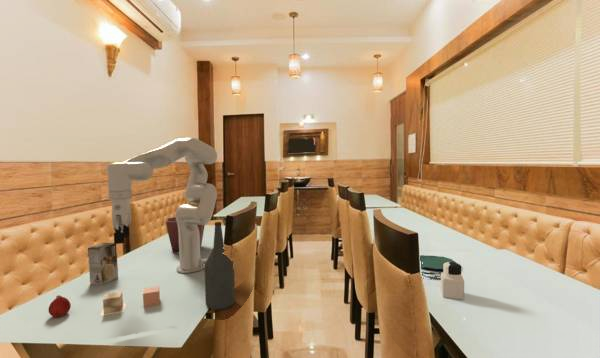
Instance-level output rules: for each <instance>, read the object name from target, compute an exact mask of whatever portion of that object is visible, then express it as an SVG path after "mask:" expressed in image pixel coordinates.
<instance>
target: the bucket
mask: <svg viewBox="0 0 600 358" xmlns="http://www.w3.org/2000/svg"><path fill="white" fill-rule="evenodd" d="M165 226H166V229H167V230H166V231H167V234H168V239H169V243H170V247H171V250H172V253H177V254H179V232H178V225H177V221H176V216H172V217H167V218H165ZM197 226H198V229H199V234H200V249H201V248H202V244H203V237H204V232H205V231H204V230H205V226H206V225H197Z"/></svg>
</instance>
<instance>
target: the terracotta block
mask: <svg viewBox="0 0 600 358" xmlns="http://www.w3.org/2000/svg"><path fill="white" fill-rule="evenodd" d="M160 295H161V294H160V286H159V285H158V286H152V287H145V288H143V292H142V299H143V300H142V301H143V302H142V303H143V308H148V307H153V306H158V305H160V300H161V298H160Z"/></svg>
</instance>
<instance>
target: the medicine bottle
mask: <svg viewBox="0 0 600 358" xmlns="http://www.w3.org/2000/svg"><path fill="white" fill-rule="evenodd" d="M442 271H443V273H442V272H440V273H441V274H440V275H441V277H440V278H441V280H440V292H441V295H442V298H443V299H454V300H465V280H464V278H463V276H462V265H461V264H460V263H458V262H456V263H454V262H446V263H444V264H443V270H442Z"/></svg>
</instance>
